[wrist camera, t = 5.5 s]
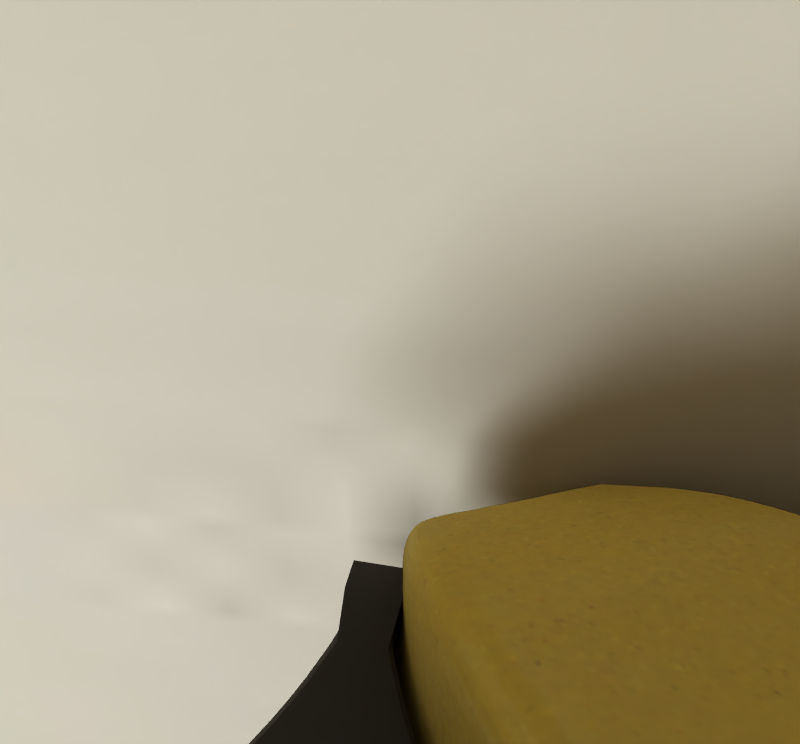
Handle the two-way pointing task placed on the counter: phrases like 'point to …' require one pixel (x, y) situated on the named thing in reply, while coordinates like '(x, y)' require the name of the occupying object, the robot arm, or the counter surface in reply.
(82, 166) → the counter surface
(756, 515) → the flower pot
